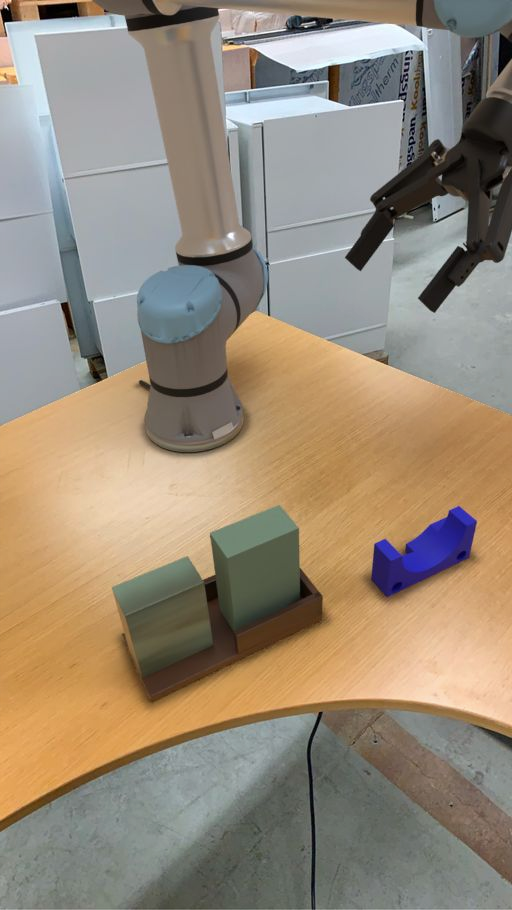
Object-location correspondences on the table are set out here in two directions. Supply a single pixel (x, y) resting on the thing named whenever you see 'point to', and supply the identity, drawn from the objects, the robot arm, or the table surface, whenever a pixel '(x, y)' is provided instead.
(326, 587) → the table surface
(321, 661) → the table surface
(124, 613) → the brown desk organizer
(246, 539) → the green rectangular block
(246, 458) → the table surface
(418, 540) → the blue cradle bracket
